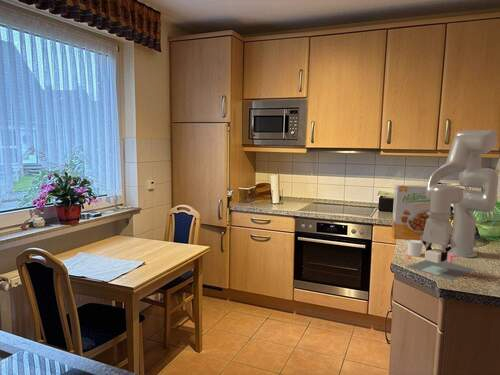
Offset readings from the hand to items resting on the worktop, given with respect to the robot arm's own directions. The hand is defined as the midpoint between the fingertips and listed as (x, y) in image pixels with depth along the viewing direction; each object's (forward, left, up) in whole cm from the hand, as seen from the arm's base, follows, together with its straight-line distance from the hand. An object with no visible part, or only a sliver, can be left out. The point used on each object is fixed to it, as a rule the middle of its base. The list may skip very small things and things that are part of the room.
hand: (435, 258), depth 157 cm
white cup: (-14, -17, -6) cm, 23 cm away
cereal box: (-44, -34, -6) cm, 56 cm away
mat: (-5, 0, -5) cm, 7 cm away
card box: (0, 0, 0) cm, 0 cm away
